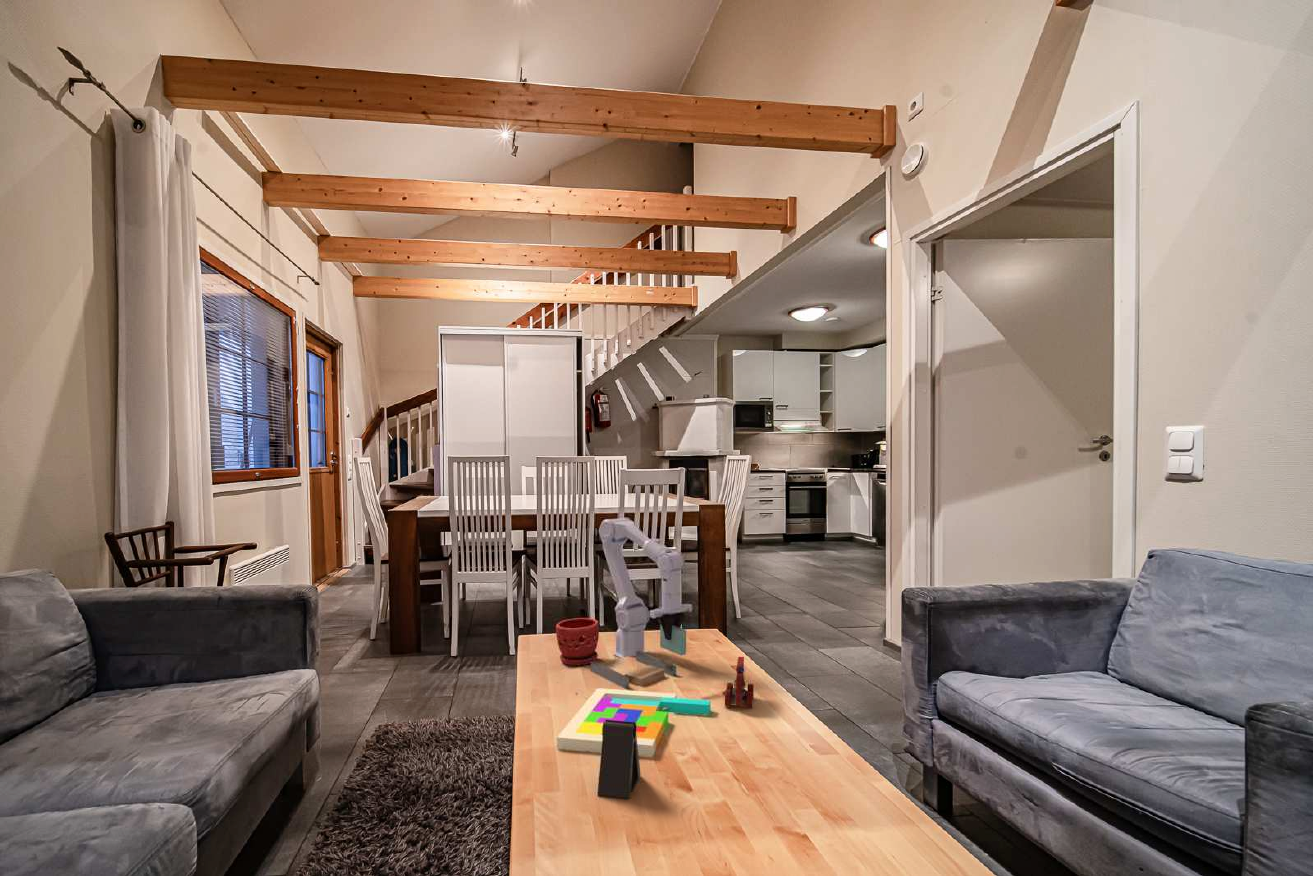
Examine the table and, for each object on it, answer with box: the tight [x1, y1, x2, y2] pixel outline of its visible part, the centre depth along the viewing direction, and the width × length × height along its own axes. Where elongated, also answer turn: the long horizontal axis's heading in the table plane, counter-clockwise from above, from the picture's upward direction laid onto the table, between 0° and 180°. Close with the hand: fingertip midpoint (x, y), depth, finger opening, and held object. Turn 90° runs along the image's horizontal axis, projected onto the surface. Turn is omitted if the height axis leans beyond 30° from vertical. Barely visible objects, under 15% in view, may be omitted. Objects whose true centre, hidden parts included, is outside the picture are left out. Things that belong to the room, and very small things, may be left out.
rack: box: [590, 651, 677, 690], centre depth 181 cm, size 18×17×4 cm
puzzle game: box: [556, 687, 711, 758], centre depth 148 cm, size 30×3×30 cm
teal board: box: [659, 623, 687, 656], centre depth 189 cm, size 2×10×7 cm, turn 36°
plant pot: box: [555, 617, 600, 667], centre depth 196 cm, size 13×13×12 cm
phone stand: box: [597, 720, 642, 800], centre depth 121 cm, size 9×6×12 cm, turn 167°
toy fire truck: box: [724, 656, 755, 709], centre depth 162 cm, size 7×12×10 cm, turn 169°
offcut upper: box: [624, 665, 666, 687], centre depth 176 cm, size 6×10×2 cm, turn 140°
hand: (671, 638), depth 189 cm, fingers closed on teal board, 2 cm apart
